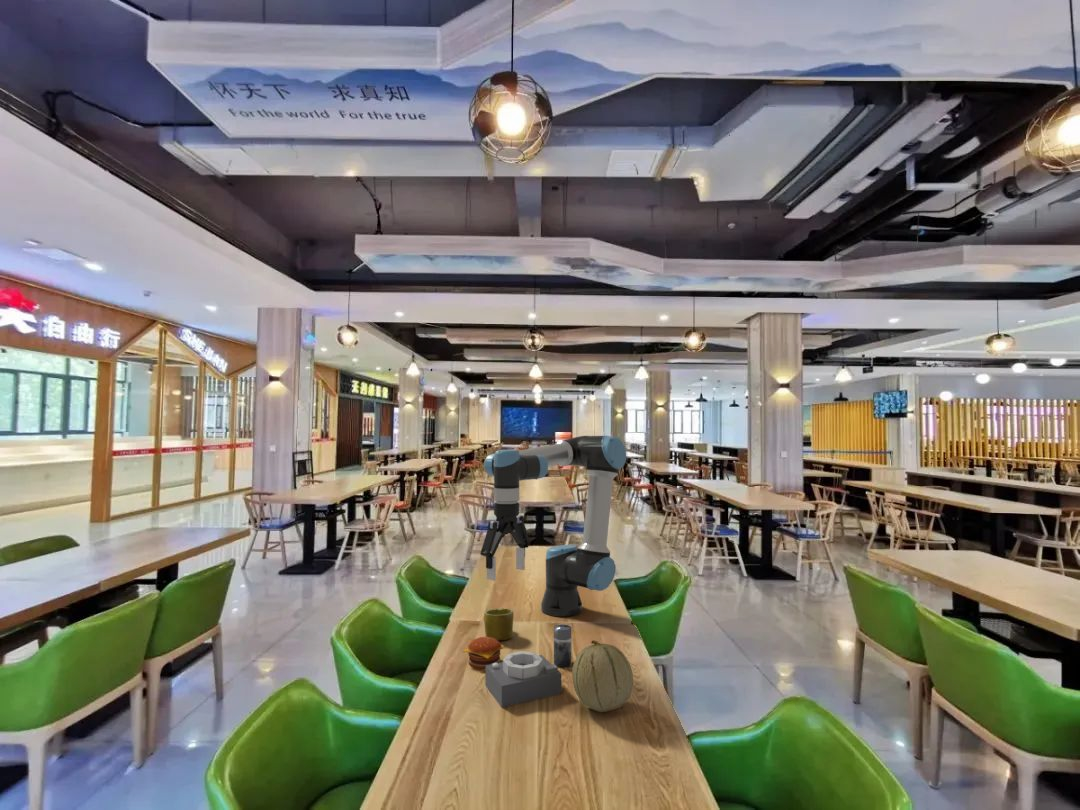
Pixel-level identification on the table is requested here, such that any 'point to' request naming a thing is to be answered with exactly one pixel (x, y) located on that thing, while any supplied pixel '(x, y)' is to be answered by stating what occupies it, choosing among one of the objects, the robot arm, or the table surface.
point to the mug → (499, 623)
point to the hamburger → (484, 652)
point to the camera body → (522, 678)
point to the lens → (562, 646)
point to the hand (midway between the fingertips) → (506, 574)
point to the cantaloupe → (602, 677)
